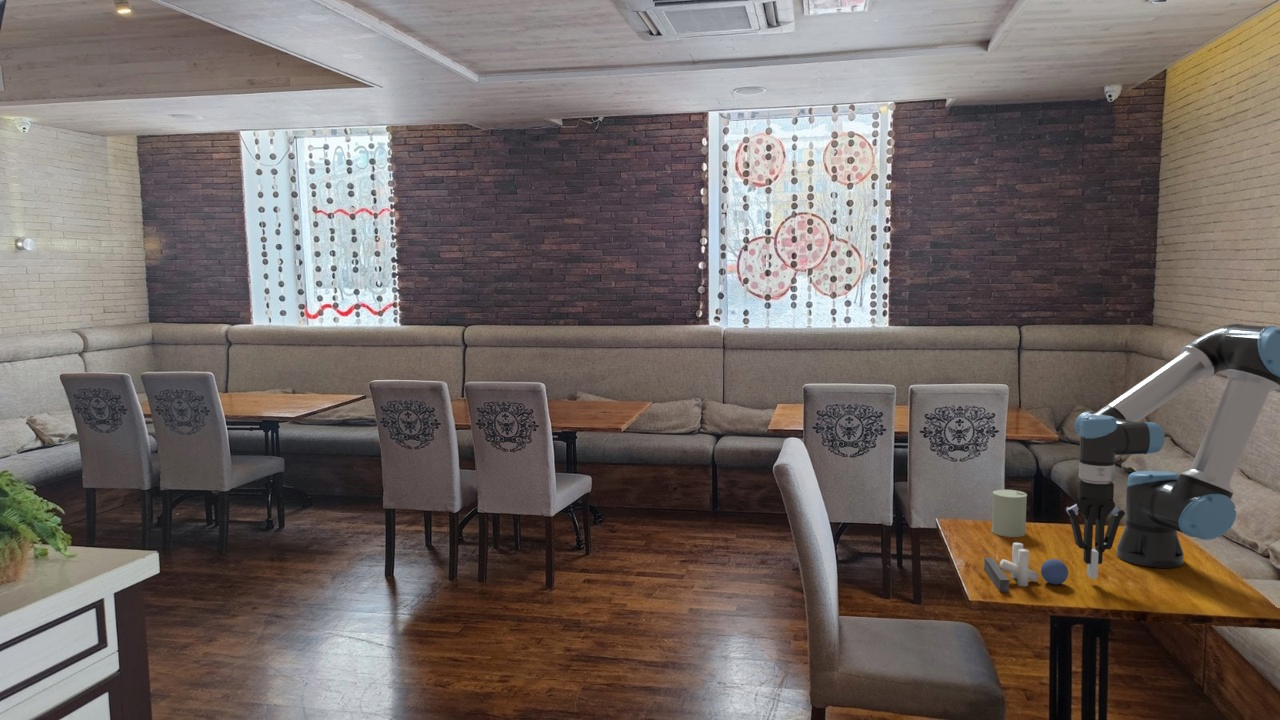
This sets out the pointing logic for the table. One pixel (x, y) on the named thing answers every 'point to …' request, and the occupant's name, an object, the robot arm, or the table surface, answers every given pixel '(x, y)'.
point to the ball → (1054, 571)
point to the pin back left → (1023, 567)
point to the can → (1009, 513)
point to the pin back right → (1016, 555)
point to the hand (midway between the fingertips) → (1092, 576)
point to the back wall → (996, 575)
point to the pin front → (1014, 569)
